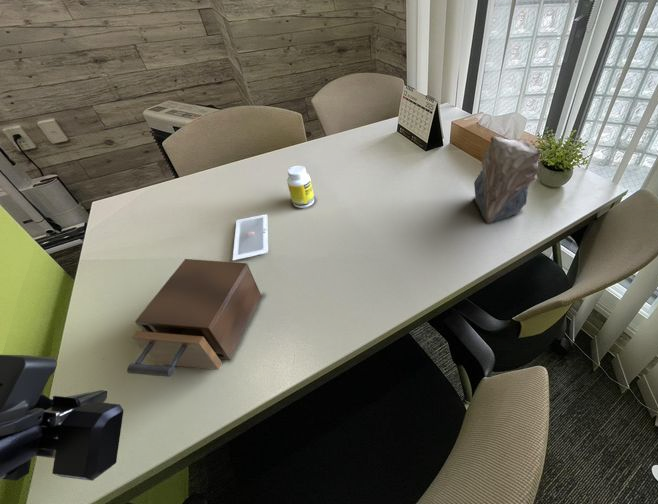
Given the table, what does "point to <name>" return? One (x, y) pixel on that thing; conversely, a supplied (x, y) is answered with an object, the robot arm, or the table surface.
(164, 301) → the cabinet
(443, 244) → the table surface
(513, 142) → the brown grey rock
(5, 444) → the robot arm
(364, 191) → the table surface
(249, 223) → the touchpad
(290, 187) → the pill bottle
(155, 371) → the drawer
